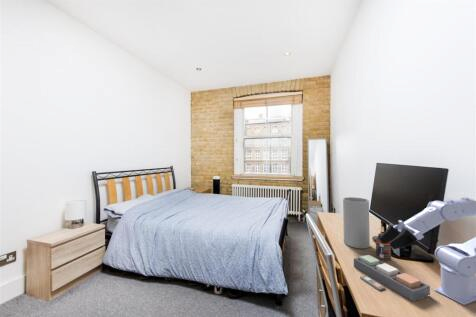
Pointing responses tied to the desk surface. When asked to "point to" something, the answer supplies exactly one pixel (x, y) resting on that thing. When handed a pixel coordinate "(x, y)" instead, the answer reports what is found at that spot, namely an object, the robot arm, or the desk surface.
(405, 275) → the terracotta key
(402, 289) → the grey divided tray
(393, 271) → the white key
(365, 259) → the sage key
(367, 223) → the cylinder vase
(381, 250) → the supplement bottle
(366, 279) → the card
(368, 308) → the desk surface
